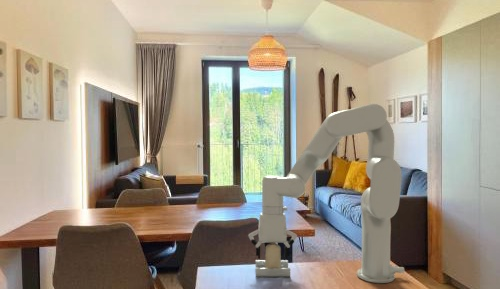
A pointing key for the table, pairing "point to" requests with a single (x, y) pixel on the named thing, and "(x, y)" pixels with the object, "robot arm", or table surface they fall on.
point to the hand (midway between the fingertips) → (272, 257)
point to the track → (272, 270)
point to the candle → (272, 256)
